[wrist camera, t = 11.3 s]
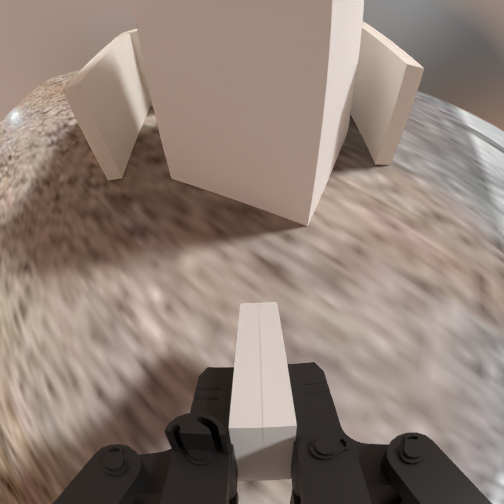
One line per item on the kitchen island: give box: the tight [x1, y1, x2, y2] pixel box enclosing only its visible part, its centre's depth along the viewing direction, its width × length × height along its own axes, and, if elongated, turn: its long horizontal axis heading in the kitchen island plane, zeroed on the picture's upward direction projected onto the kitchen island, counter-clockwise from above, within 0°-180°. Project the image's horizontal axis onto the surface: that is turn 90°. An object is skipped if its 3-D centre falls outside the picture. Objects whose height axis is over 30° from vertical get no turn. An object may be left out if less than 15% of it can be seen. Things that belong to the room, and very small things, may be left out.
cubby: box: [63, 21, 424, 181], centre depth 21 cm, size 25×14×10 cm, turn 92°
